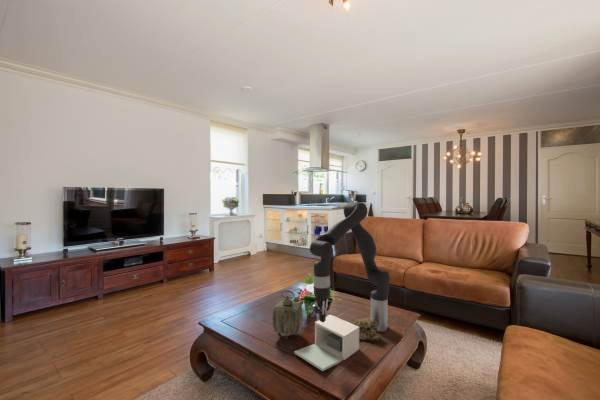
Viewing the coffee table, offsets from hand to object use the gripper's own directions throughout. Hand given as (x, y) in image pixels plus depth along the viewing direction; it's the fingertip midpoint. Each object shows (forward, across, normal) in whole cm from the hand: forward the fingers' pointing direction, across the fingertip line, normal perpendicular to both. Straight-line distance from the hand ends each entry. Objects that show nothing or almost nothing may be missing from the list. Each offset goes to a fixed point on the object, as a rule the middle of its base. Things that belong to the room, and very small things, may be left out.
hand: (322, 321), depth 126 cm
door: (+17, -4, 0) cm, 17 cm away
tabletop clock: (+18, 0, -24) cm, 30 cm away
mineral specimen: (+19, -28, +4) cm, 34 cm away
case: (+18, -10, 0) cm, 21 cm away
